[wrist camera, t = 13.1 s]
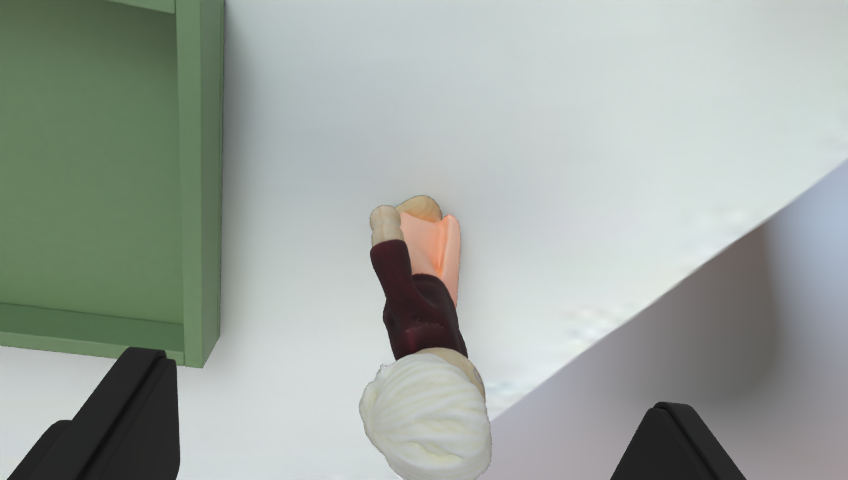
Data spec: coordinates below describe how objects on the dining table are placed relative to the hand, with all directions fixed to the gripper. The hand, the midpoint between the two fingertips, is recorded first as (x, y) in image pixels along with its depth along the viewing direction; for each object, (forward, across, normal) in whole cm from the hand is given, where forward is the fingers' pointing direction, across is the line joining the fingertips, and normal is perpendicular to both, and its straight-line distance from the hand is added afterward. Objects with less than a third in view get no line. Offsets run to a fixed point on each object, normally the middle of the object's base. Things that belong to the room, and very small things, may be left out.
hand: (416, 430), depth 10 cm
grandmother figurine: (+13, -1, +2) cm, 13 cm away
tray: (+13, +16, +1) cm, 21 cm away
